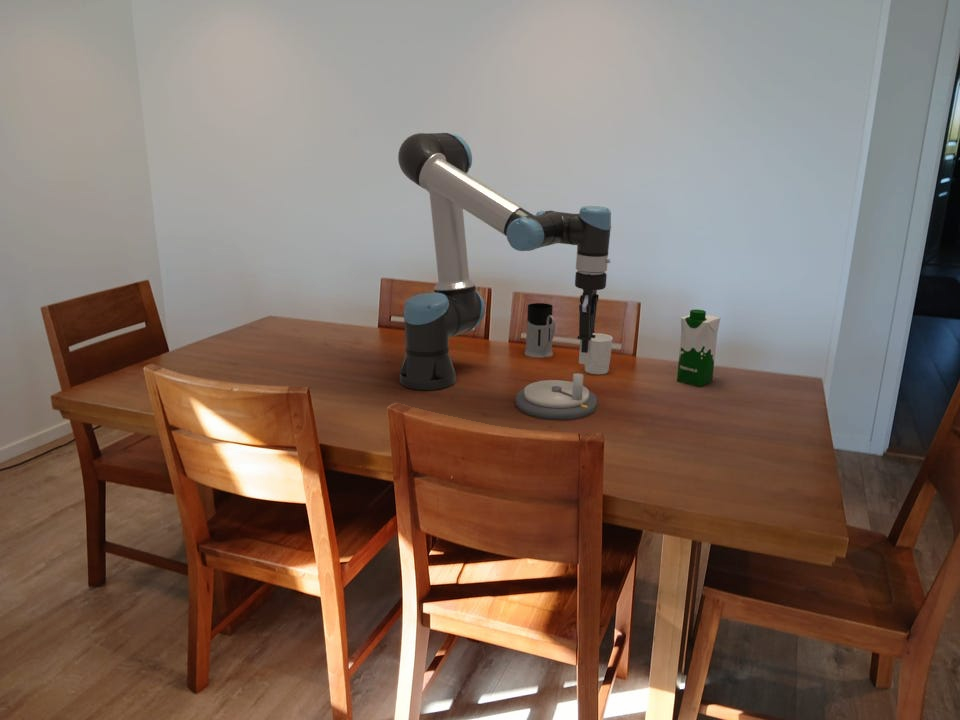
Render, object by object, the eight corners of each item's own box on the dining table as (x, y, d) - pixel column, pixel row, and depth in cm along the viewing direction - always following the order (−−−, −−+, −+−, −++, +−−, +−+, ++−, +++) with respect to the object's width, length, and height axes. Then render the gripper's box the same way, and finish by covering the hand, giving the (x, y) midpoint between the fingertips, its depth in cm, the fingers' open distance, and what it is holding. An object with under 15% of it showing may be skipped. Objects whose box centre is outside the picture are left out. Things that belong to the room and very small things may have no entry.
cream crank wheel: (510, 394, 182) (511, 366, 179) (556, 381, 191) (557, 354, 189) (556, 413, 170) (557, 383, 167) (602, 398, 179) (604, 369, 177)
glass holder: (545, 348, 228) (546, 301, 224) (566, 361, 215) (568, 312, 211) (519, 351, 225) (520, 303, 221) (539, 364, 213) (540, 314, 208)
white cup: (610, 376, 202) (612, 341, 199) (581, 374, 204) (583, 340, 201) (611, 367, 210) (613, 334, 207) (583, 365, 211) (585, 332, 208)
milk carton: (672, 381, 198) (678, 310, 192) (688, 373, 205) (694, 304, 199) (701, 388, 193) (709, 315, 187) (717, 380, 199) (725, 309, 193)
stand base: (506, 413, 175) (506, 405, 174) (527, 387, 193) (527, 379, 193) (588, 424, 169) (589, 415, 168) (602, 395, 187) (603, 387, 187)
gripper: (602, 278, 170) (594, 373, 177) (611, 268, 181) (603, 357, 189) (570, 275, 172) (564, 369, 179) (581, 265, 184) (575, 354, 191)
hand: (584, 363), depth 184 cm, fingers closed
